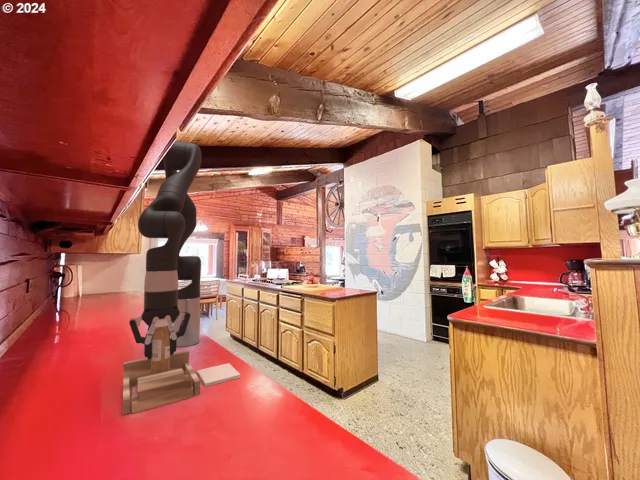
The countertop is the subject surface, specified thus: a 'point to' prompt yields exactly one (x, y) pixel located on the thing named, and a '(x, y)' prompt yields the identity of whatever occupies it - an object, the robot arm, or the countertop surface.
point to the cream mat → (217, 374)
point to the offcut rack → (158, 383)
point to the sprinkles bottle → (160, 348)
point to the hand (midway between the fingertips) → (160, 355)
